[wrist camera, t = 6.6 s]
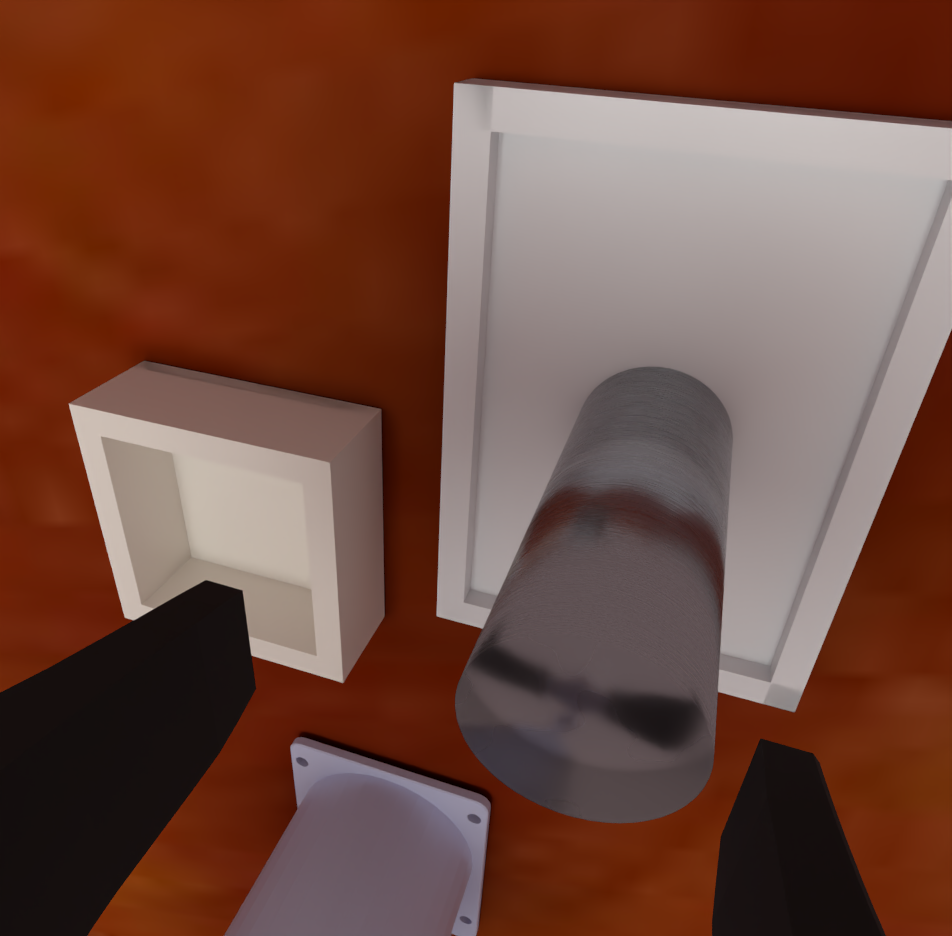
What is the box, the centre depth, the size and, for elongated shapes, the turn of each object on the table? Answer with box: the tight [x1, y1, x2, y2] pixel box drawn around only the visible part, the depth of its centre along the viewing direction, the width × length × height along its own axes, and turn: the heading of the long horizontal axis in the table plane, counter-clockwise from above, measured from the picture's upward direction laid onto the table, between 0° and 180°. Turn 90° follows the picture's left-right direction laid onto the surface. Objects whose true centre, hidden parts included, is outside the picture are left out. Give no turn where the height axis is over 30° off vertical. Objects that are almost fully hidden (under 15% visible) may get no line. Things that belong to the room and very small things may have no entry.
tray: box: [437, 78, 952, 712], centre depth 18 cm, size 14×10×1 cm
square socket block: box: [69, 361, 385, 683], centre depth 22 cm, size 8×8×3 cm
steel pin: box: [455, 367, 733, 823], centre depth 14 cm, size 4×4×9 cm
